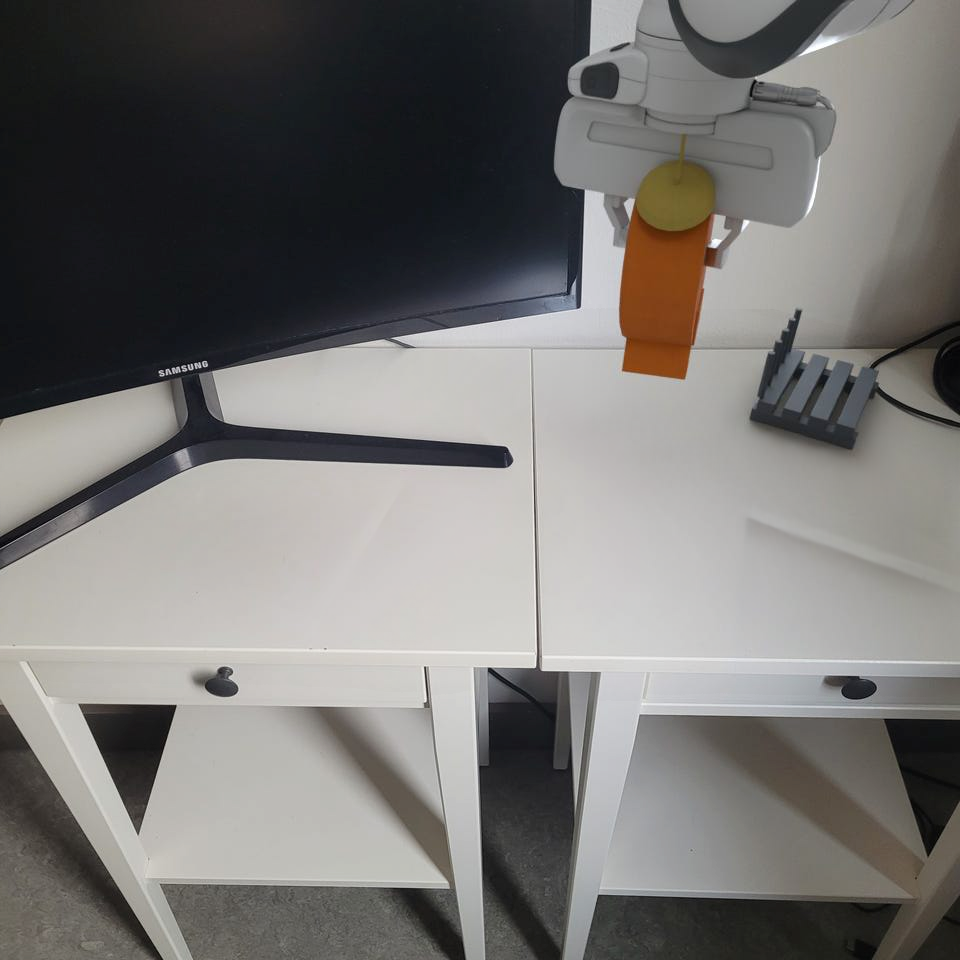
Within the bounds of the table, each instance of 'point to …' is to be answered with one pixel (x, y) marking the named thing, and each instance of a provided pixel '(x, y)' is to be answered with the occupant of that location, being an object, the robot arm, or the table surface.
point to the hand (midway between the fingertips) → (668, 255)
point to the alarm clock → (665, 268)
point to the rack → (811, 392)
